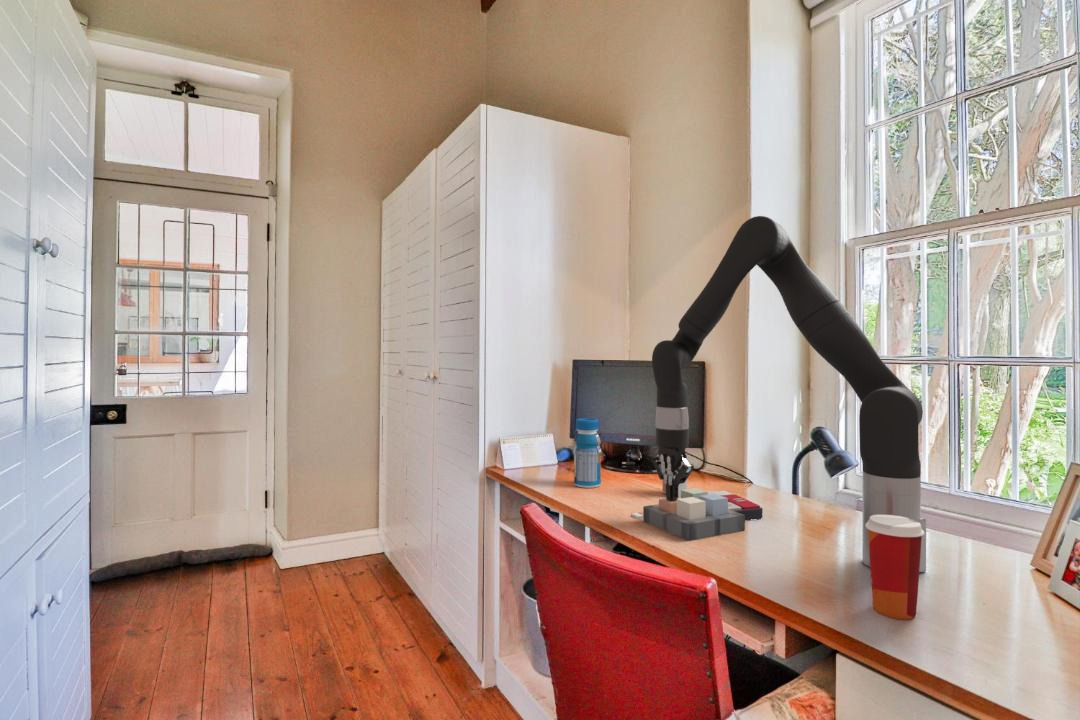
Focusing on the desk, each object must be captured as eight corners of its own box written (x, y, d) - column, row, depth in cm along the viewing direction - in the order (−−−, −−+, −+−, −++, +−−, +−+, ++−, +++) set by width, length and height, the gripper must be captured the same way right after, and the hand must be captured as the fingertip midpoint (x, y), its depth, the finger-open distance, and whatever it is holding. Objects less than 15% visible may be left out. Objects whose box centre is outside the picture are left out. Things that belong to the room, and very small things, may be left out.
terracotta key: (686, 518, 132) (686, 501, 132) (670, 521, 130) (670, 503, 130) (673, 513, 136) (673, 497, 136) (658, 516, 134) (658, 499, 134)
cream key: (705, 519, 126) (705, 501, 126) (689, 522, 124) (689, 503, 124) (692, 514, 130) (692, 496, 130) (676, 516, 128) (676, 499, 128)
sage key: (707, 508, 135) (707, 491, 135) (693, 511, 133) (693, 493, 133) (695, 504, 139) (695, 487, 139) (680, 506, 137) (680, 489, 137)
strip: (690, 510, 144) (690, 507, 144) (638, 518, 137) (638, 515, 137) (683, 507, 147) (683, 505, 147) (631, 515, 140) (631, 512, 140)
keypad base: (744, 530, 128) (744, 514, 128) (688, 540, 121) (688, 524, 121) (696, 512, 142) (696, 498, 142) (643, 521, 135) (643, 506, 135)
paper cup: (901, 600, 92) (902, 513, 91) (936, 622, 84) (936, 527, 84) (854, 601, 91) (854, 513, 91) (884, 623, 84) (884, 528, 84)
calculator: (724, 509, 134) (689, 491, 148) (723, 527, 134) (688, 507, 148) (763, 505, 137) (725, 488, 151) (763, 522, 137) (725, 504, 151)
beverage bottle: (583, 489, 167) (583, 421, 167) (568, 484, 174) (567, 418, 174) (607, 486, 171) (606, 419, 171) (591, 481, 178) (591, 417, 178)
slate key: (727, 515, 129) (727, 498, 129) (712, 518, 127) (712, 500, 127) (714, 510, 133) (714, 493, 133) (699, 513, 131) (699, 495, 131)
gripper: (704, 428, 129) (704, 505, 129) (667, 422, 141) (666, 492, 141) (677, 430, 125) (677, 509, 126) (641, 423, 137) (641, 495, 138)
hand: (671, 500), depth 133 cm, fingers closed
